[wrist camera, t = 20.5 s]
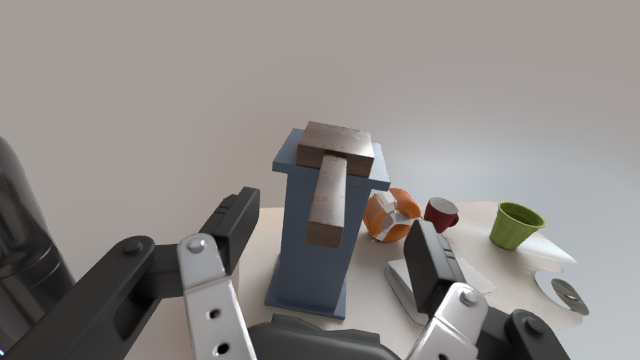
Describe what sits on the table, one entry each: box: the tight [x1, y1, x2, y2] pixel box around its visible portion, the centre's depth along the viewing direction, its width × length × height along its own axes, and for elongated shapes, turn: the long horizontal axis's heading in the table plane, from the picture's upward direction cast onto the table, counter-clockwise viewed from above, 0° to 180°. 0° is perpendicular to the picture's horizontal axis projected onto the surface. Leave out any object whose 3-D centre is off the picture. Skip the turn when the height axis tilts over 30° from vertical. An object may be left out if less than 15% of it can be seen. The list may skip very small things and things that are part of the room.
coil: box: [363, 188, 425, 246], centre depth 69 cm, size 7×15×15 cm, turn 100°
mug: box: [424, 198, 459, 234], centre depth 75 cm, size 10×8×10 cm
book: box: [385, 253, 498, 325], centre depth 59 cm, size 15×23×4 cm, turn 107°
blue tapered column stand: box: [265, 129, 390, 320], centre depth 48 cm, size 14×16×32 cm
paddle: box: [296, 121, 374, 249], centre depth 31 cm, size 24×10×3 cm, turn 174°
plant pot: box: [490, 202, 546, 250], centre depth 76 cm, size 12×12×11 cm
